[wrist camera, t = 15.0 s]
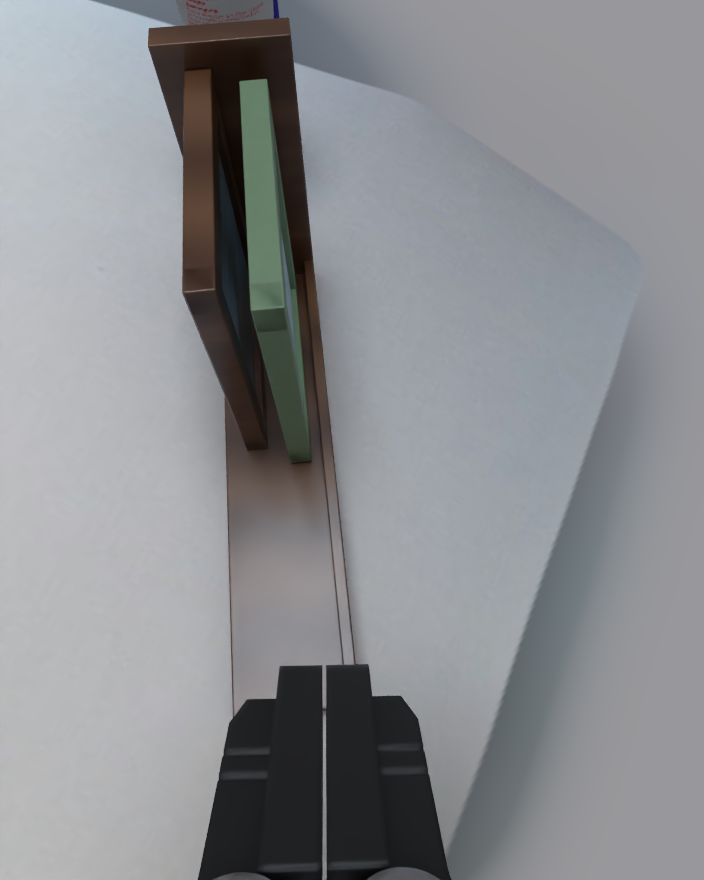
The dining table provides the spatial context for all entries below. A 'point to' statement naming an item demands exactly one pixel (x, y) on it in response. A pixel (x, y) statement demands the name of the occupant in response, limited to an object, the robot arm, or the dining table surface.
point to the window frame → (257, 357)
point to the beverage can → (225, 11)
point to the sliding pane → (273, 269)
